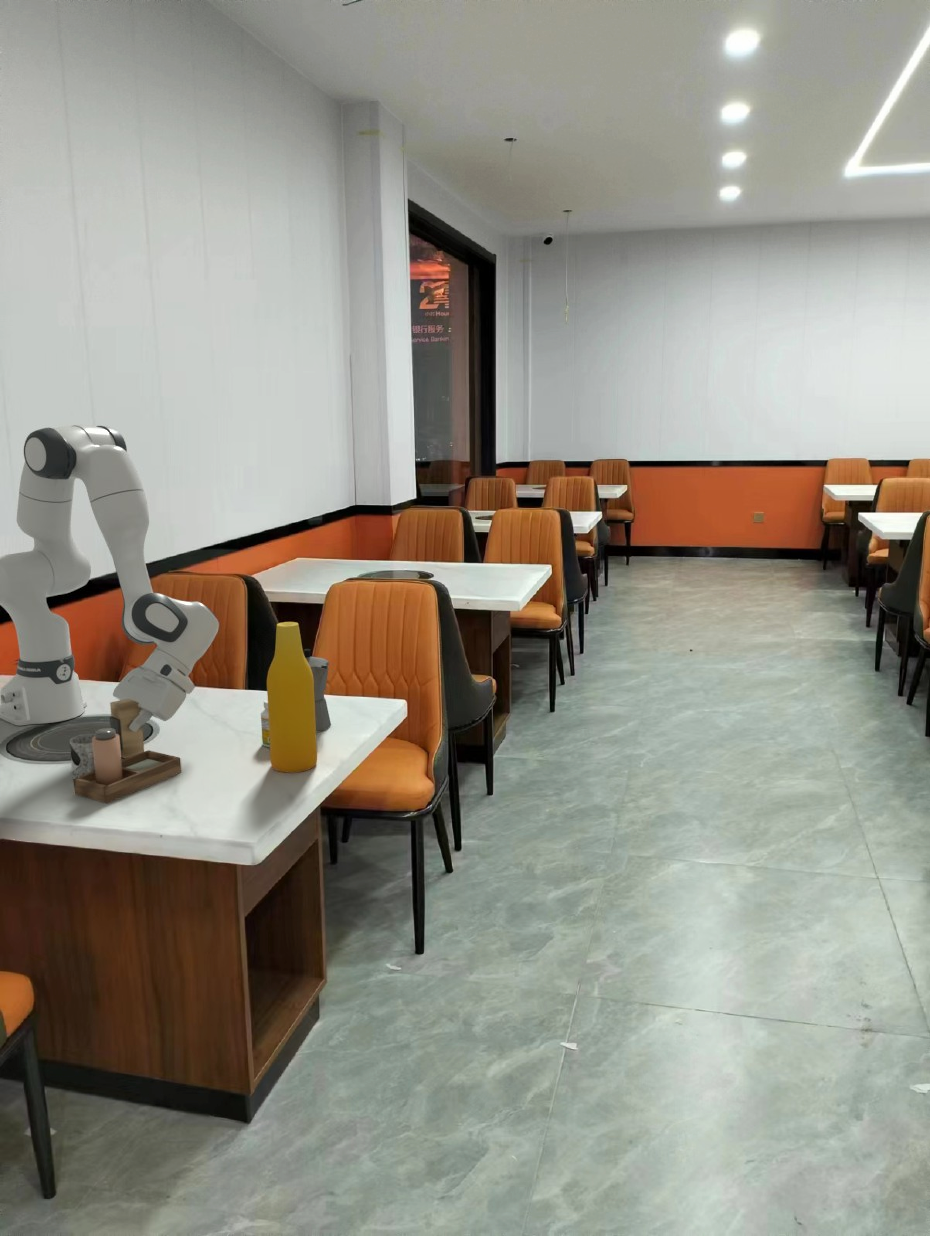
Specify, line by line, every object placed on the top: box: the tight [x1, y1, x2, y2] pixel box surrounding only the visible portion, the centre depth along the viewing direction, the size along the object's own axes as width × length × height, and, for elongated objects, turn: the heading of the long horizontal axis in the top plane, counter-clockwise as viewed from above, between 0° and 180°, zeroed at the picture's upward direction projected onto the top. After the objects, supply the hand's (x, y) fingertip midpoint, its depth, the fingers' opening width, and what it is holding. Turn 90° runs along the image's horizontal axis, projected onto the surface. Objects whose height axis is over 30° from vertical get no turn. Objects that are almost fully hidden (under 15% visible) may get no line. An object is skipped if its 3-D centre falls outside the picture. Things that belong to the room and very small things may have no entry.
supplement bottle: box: [260, 698, 270, 748], centre depth 211 cm, size 5×5×10 cm
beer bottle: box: [266, 621, 318, 773], centre depth 196 cm, size 9×9×29 cm
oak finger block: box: [109, 699, 145, 759], centre depth 205 cm, size 4×5×11 cm
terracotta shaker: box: [92, 727, 123, 786], centre depth 185 cm, size 5×5×10 cm
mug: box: [69, 732, 95, 777], centre depth 195 cm, size 10×7×7 cm
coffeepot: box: [303, 648, 332, 733], centre depth 222 cm, size 15×9×18 cm, turn 49°
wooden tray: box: [72, 749, 182, 804], centre depth 190 cm, size 9×18×3 cm, turn 149°
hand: (124, 726), depth 204 cm, fingers closed on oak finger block, 4 cm apart
